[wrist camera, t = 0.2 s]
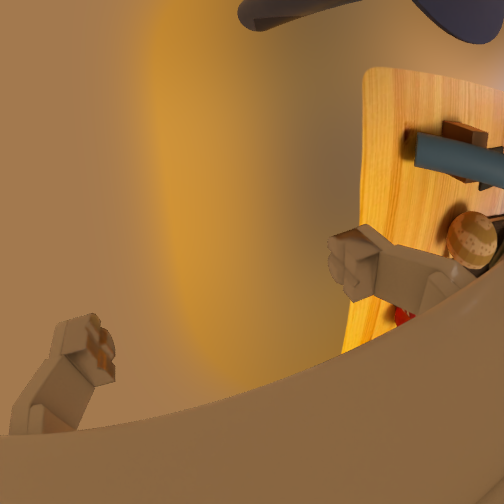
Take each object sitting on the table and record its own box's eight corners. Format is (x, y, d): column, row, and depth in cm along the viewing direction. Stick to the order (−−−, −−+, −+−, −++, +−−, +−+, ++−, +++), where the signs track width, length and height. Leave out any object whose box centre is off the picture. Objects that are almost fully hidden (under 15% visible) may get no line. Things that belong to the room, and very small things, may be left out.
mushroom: (435, 289, 50) (481, 264, 36) (418, 239, 54) (458, 203, 40) (469, 277, 51) (514, 252, 37) (453, 231, 55) (492, 198, 40)
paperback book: (505, 214, 54) (511, 218, 52) (475, 288, 66) (481, 293, 64) (477, 218, 49) (485, 223, 48) (444, 303, 62) (450, 308, 60)
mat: (483, 149, 40) (486, 150, 40) (501, 146, 42) (503, 147, 41) (478, 190, 45) (480, 191, 45) (496, 183, 46) (498, 184, 46)
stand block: (459, 122, 36) (488, 132, 31) (454, 167, 40) (480, 181, 35) (442, 120, 35) (473, 131, 30) (437, 169, 39) (465, 183, 34)
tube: (455, 131, 36) (522, 160, 26) (452, 159, 39) (515, 192, 28) (400, 128, 34) (480, 161, 23) (398, 162, 36) (472, 202, 26)
